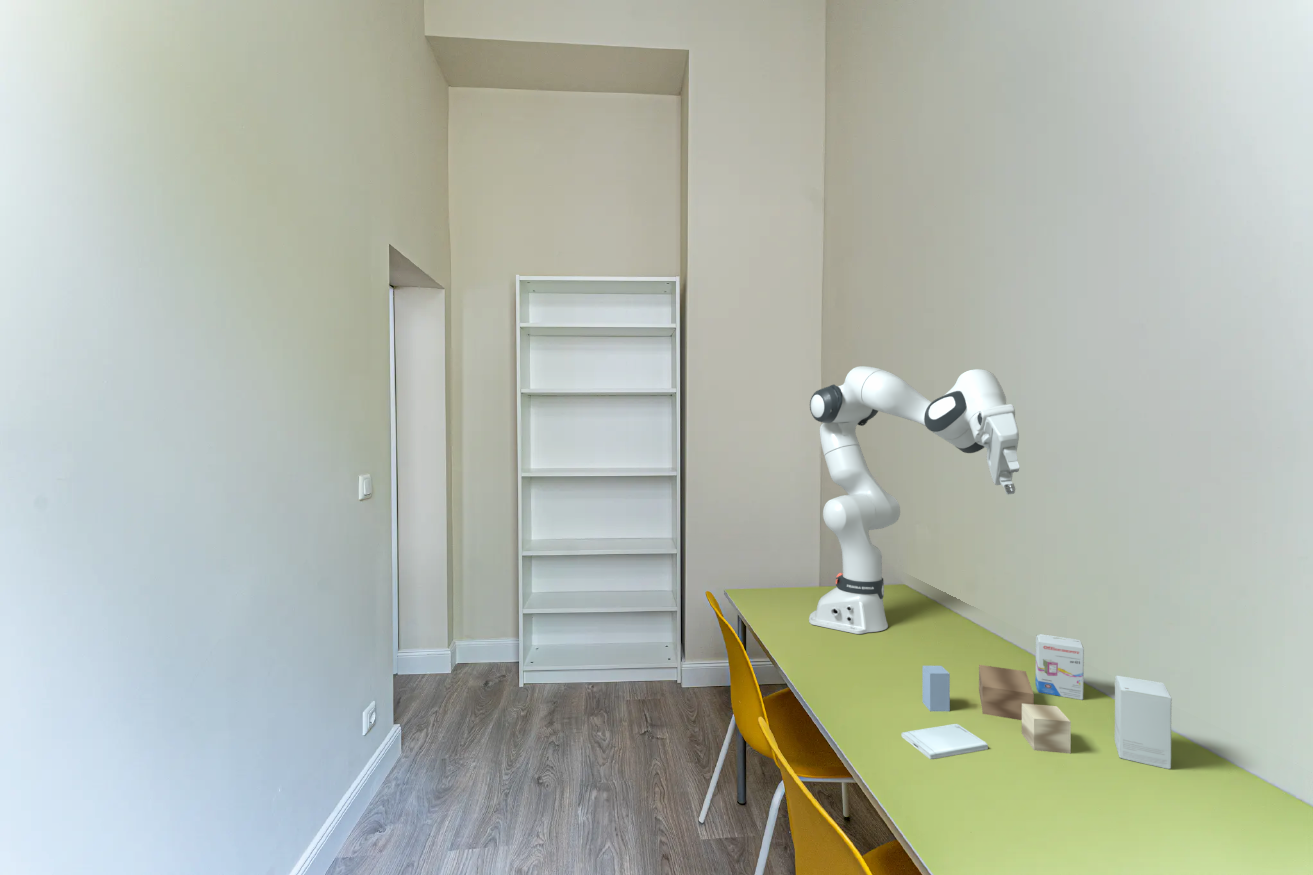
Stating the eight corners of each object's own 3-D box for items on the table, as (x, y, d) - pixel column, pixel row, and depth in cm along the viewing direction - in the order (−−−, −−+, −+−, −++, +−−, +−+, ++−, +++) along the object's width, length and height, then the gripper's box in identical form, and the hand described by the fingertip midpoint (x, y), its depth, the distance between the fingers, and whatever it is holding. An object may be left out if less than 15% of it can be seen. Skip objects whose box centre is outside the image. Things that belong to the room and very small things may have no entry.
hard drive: (956, 722, 120) (901, 730, 117) (988, 743, 112) (930, 753, 109) (956, 730, 120) (901, 739, 117) (988, 752, 112) (930, 762, 109)
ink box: (1037, 693, 134) (1037, 640, 134) (1035, 684, 139) (1035, 633, 139) (1084, 700, 130) (1084, 646, 130) (1080, 691, 135) (1080, 638, 135)
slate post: (922, 702, 131) (922, 665, 131) (941, 702, 131) (941, 665, 130) (930, 711, 127) (930, 673, 127) (949, 711, 127) (949, 673, 126)
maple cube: (1034, 750, 112) (1034, 718, 111) (1021, 734, 117) (1021, 703, 117) (1070, 753, 110) (1070, 721, 110) (1056, 737, 116) (1056, 706, 116)
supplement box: (1172, 770, 105) (1172, 698, 104) (1118, 758, 108) (1118, 688, 108) (1164, 750, 111) (1165, 682, 110) (1113, 739, 115) (1114, 673, 114)
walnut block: (982, 714, 125) (982, 686, 125) (979, 690, 136) (979, 664, 136) (1033, 723, 122) (1033, 693, 122) (1025, 698, 133) (1025, 671, 132)
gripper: (976, 455, 145) (993, 506, 137) (980, 405, 130) (999, 459, 122) (1006, 451, 143) (1024, 502, 135) (1013, 399, 128) (1035, 454, 120)
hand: (1013, 481), depth 128 cm, fingers open, 8 cm apart
